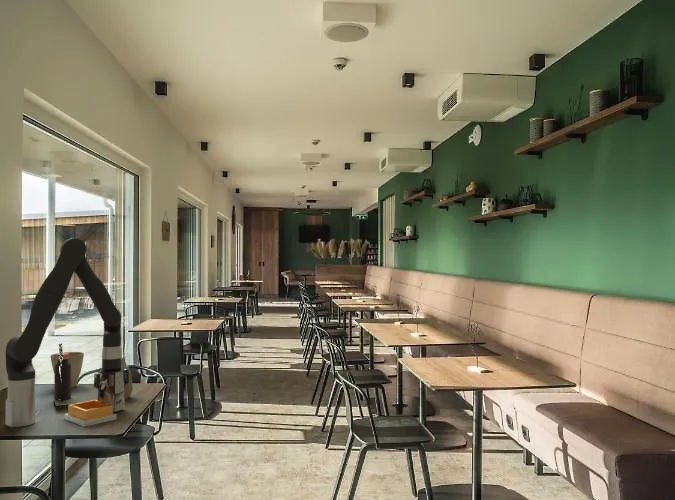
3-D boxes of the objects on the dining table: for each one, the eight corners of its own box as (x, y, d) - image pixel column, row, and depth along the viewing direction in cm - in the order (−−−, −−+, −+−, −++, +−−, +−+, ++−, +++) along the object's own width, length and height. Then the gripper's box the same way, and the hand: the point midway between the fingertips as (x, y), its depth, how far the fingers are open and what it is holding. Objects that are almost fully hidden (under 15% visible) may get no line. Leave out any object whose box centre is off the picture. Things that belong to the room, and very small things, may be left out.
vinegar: (74, 396, 261) (74, 352, 262) (65, 400, 255) (65, 355, 255) (59, 396, 262) (60, 352, 262) (51, 400, 255) (51, 355, 255)
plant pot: (74, 382, 292) (75, 350, 292) (89, 386, 283) (89, 353, 283) (44, 387, 281) (44, 354, 281) (58, 391, 271) (59, 357, 271)
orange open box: (83, 426, 215) (83, 412, 215) (64, 419, 225) (64, 405, 225) (116, 419, 225) (116, 405, 225) (96, 412, 235) (96, 398, 235)
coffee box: (125, 408, 239) (126, 369, 240) (115, 412, 233) (115, 372, 234) (107, 406, 242) (107, 368, 242) (96, 410, 236) (97, 371, 236)
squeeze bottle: (109, 398, 257) (109, 358, 258) (123, 395, 264) (124, 355, 265) (122, 401, 254) (122, 360, 254) (136, 397, 261) (136, 357, 261)
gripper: (99, 360, 230) (99, 401, 230) (132, 355, 241) (132, 394, 241) (90, 358, 235) (90, 398, 235) (123, 353, 246) (122, 392, 246)
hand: (111, 396), depth 238 cm, fingers closed on coffee box, 8 cm apart
